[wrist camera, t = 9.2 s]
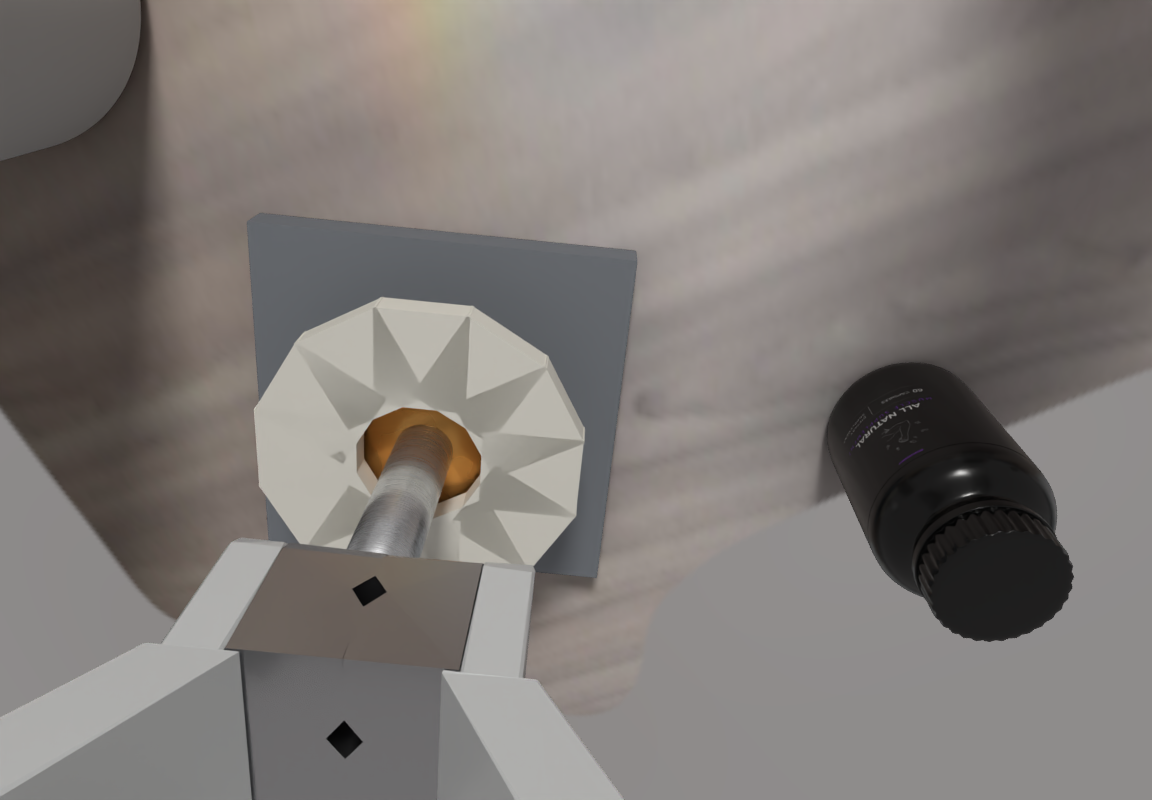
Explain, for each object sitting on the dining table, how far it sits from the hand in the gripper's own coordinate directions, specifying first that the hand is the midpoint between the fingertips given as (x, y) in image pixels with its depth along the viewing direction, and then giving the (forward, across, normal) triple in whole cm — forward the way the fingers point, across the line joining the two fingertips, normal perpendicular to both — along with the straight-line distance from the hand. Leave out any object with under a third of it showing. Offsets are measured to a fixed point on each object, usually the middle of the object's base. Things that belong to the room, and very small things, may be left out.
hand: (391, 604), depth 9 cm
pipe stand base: (+29, +4, +12) cm, 32 cm away
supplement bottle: (+29, -17, +11) cm, 36 cm away
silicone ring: (+24, +4, +12) cm, 27 cm away
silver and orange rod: (+28, +4, +12) cm, 30 cm away
